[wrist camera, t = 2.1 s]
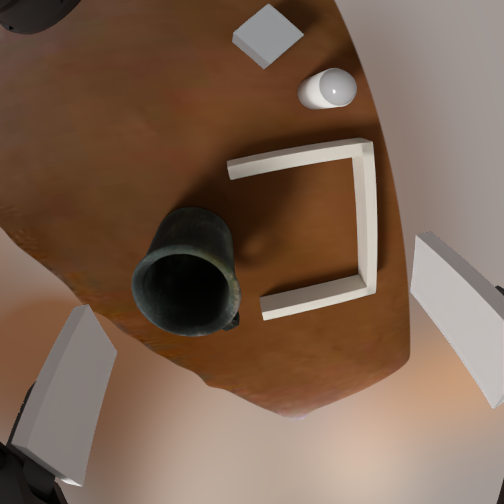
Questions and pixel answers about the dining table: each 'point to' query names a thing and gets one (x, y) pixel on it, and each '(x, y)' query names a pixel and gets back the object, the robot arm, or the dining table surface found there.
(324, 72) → the cylinder
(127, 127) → the dining table surface
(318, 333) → the dining table surface
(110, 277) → the dining table surface
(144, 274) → the mug
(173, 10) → the dining table surface
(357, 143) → the corral
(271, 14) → the grey box
